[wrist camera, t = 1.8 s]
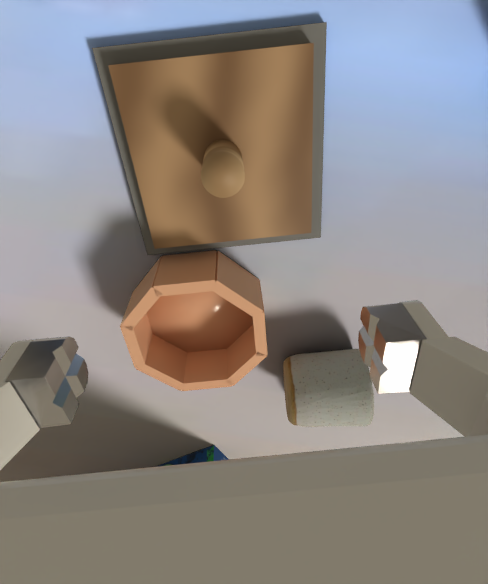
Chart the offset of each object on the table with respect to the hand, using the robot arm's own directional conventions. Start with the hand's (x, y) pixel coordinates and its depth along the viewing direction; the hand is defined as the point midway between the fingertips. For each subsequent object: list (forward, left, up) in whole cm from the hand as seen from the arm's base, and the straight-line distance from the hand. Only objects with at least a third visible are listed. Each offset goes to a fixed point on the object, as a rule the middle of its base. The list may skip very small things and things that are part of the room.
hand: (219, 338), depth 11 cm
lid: (0, 0, -21) cm, 21 cm away
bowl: (+4, +14, -21) cm, 26 cm away
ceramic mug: (-8, +24, -22) cm, 34 cm away
